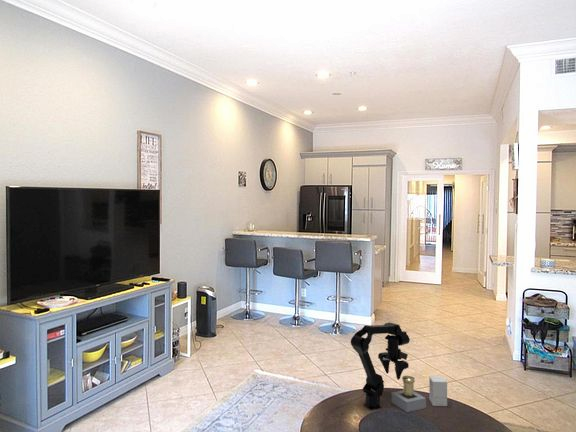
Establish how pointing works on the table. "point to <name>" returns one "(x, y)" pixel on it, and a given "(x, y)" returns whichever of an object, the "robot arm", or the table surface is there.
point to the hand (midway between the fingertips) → (392, 376)
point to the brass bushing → (408, 386)
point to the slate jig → (409, 401)
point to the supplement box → (438, 391)
